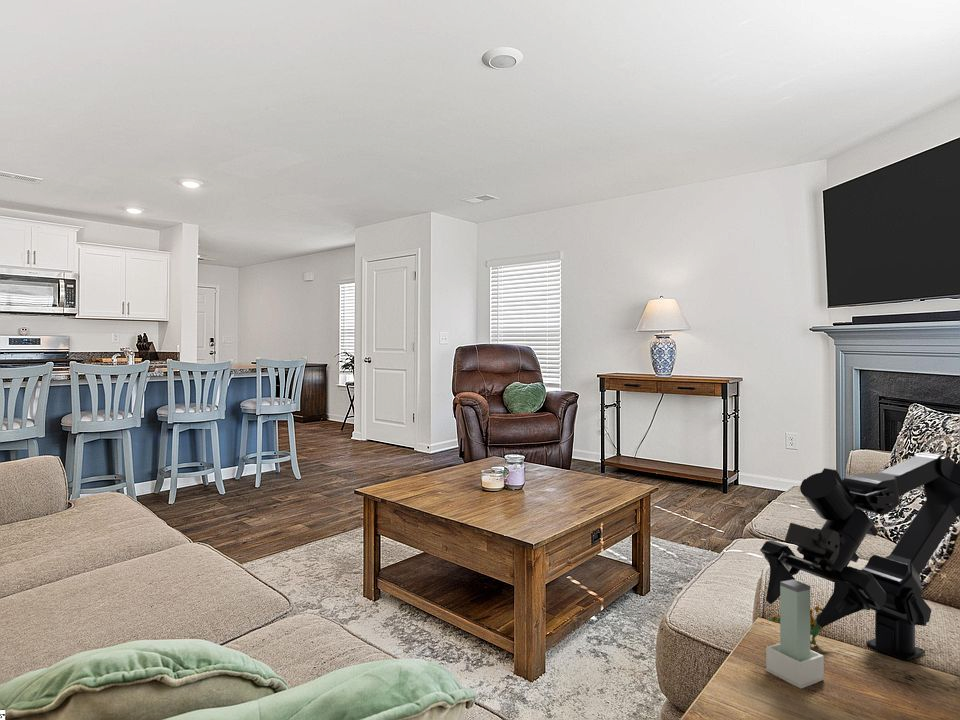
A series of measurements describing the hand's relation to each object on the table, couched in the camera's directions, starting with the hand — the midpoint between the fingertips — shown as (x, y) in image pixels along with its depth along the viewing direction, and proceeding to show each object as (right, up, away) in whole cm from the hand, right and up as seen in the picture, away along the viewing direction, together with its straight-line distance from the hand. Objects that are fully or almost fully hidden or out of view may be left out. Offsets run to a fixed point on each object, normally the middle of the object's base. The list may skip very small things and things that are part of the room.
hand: (792, 613), depth 89 cm
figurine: (+7, -11, +10) cm, 16 cm away
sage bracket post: (0, -9, 0) cm, 9 cm away
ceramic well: (0, -10, 0) cm, 10 cm away
